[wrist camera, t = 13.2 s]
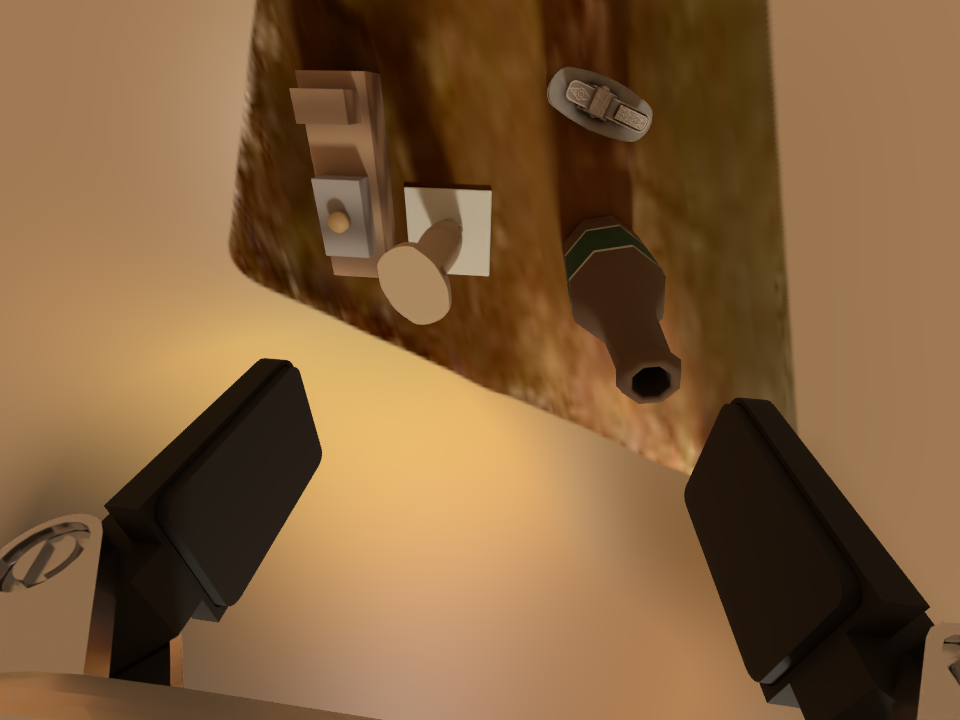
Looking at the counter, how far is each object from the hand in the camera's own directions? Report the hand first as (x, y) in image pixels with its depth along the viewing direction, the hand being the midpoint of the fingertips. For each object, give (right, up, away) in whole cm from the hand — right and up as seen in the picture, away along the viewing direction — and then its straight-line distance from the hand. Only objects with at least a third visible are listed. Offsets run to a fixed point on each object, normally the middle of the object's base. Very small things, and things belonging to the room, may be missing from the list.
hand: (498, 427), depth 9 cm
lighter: (+9, +24, +27) cm, 37 cm away
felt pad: (-4, +15, +34) cm, 38 cm away
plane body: (-13, +20, +32) cm, 40 cm away
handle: (-4, +15, +34) cm, 37 cm away
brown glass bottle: (+12, +13, +33) cm, 38 cm away
